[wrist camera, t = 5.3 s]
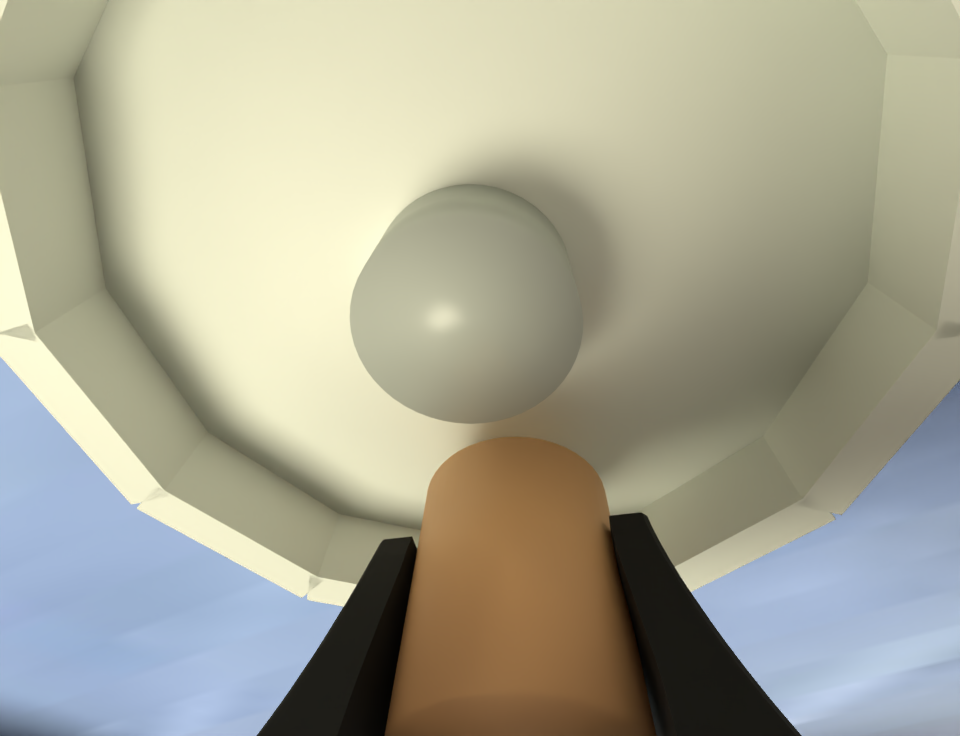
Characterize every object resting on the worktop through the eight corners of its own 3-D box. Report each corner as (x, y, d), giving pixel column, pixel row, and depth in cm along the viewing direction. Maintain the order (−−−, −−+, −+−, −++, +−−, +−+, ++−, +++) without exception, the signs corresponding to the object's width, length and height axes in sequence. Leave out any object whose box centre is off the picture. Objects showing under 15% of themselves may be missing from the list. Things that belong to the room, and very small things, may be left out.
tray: (1185, -127, 8) (1458, -191, 5) (678, 587, 17) (704, 672, 14) (-75, -570, 6) (-397, -899, 4) (113, 476, 15) (46, 552, 13)
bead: (634, 459, 11) (713, 727, 7) (571, 577, 13) (602, 837, 9) (446, 418, 11) (404, 674, 6) (413, 546, 13) (365, 802, 9)
